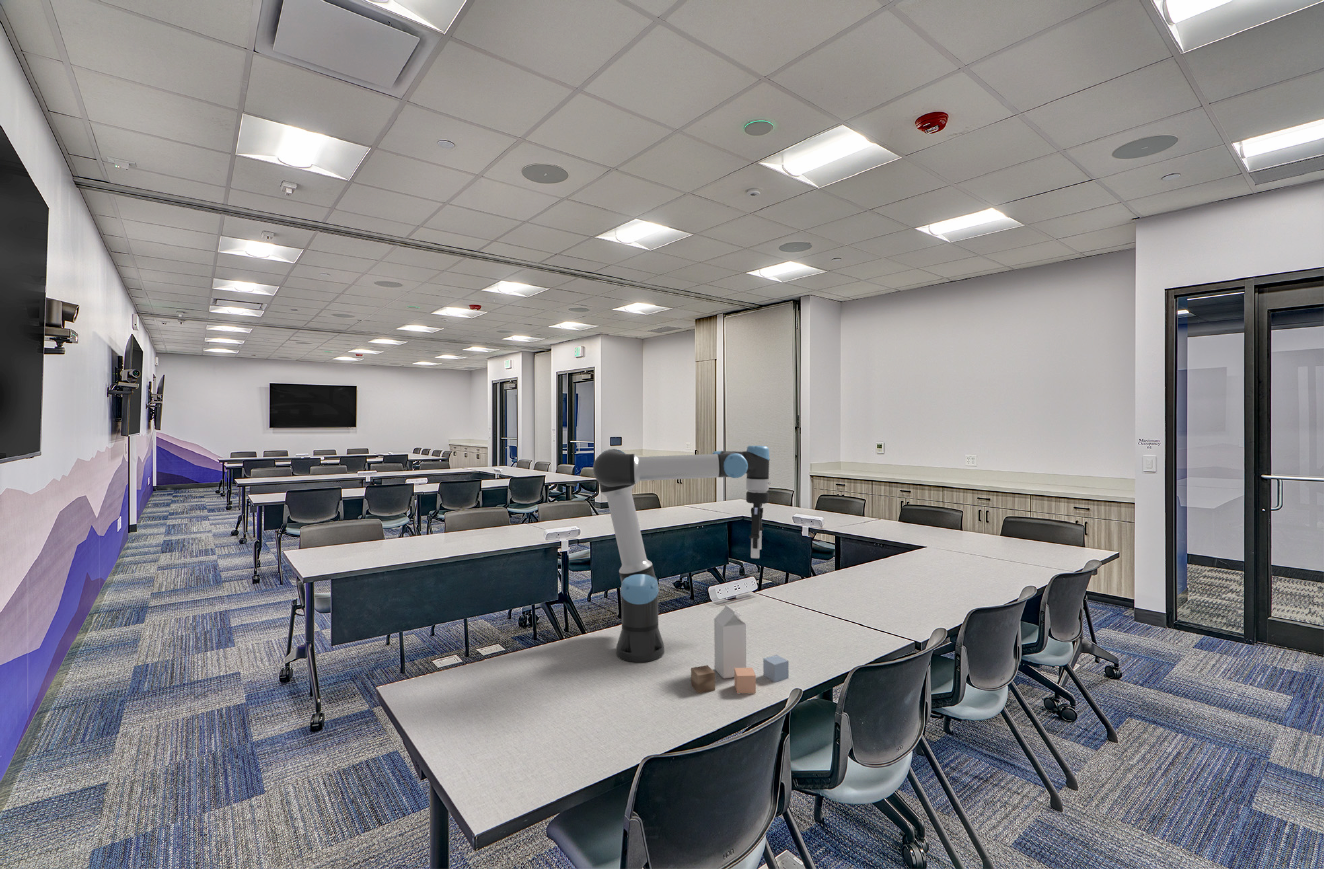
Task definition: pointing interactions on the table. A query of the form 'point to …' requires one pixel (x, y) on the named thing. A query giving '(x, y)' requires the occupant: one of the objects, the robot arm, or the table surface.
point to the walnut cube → (703, 679)
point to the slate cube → (775, 668)
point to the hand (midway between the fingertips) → (756, 553)
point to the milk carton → (729, 642)
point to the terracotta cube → (745, 680)
